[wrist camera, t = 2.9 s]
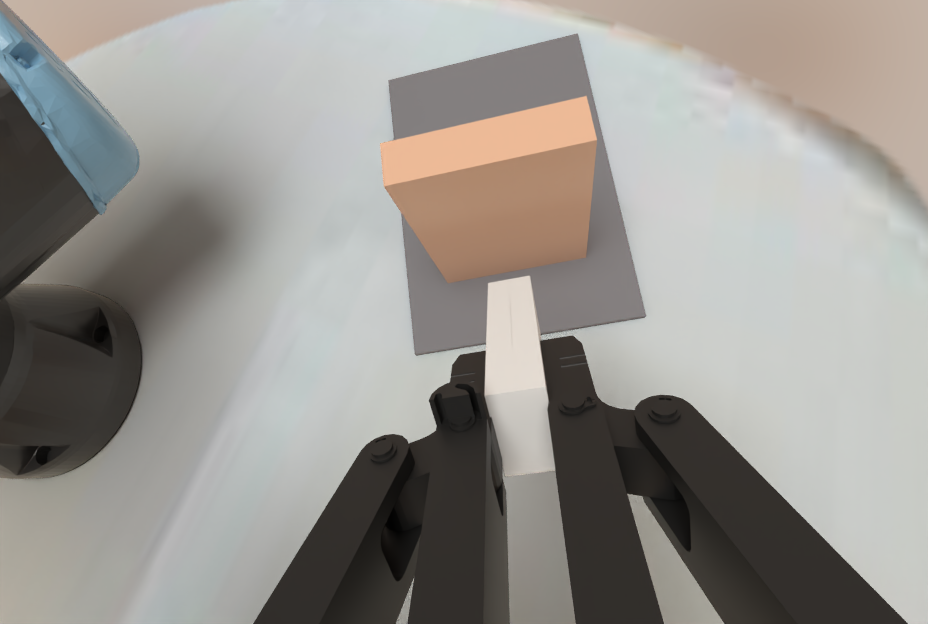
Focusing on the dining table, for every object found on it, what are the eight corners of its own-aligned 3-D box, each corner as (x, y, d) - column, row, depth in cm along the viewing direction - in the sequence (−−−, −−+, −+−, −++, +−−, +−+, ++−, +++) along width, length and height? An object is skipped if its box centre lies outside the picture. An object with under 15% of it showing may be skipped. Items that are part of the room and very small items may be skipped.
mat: (645, 317, 35) (645, 315, 34) (416, 355, 37) (415, 354, 37) (577, 37, 42) (577, 33, 42) (389, 83, 44) (388, 80, 44)
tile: (586, 257, 36) (596, 139, 23) (447, 283, 38) (383, 186, 24) (578, 223, 37) (585, 90, 24) (443, 249, 38) (379, 138, 25)
